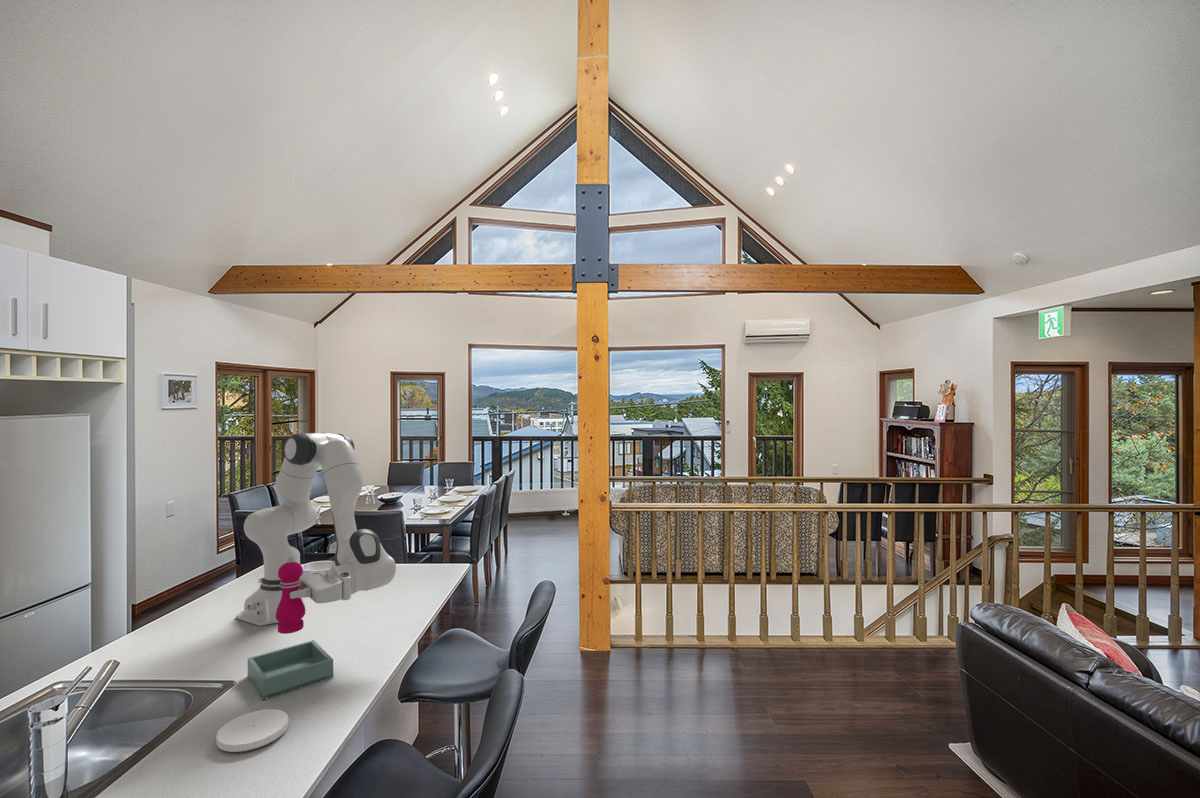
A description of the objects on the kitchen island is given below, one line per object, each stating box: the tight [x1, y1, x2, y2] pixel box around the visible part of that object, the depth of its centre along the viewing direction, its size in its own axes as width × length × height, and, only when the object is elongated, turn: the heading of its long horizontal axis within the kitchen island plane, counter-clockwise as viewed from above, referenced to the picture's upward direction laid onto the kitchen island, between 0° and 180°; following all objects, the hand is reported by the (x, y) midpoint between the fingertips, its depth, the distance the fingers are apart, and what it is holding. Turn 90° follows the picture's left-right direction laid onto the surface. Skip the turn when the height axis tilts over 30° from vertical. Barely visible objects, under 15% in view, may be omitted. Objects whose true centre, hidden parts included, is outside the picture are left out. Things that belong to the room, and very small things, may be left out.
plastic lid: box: [215, 708, 290, 753], centre depth 129 cm, size 14×14×2 cm
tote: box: [247, 639, 334, 700], centre depth 156 cm, size 17×17×5 cm
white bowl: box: [301, 560, 336, 573], centre depth 233 cm, size 15×15×8 cm
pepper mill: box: [276, 557, 306, 635], centre depth 156 cm, size 7×7×20 cm
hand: (286, 592), depth 155 cm, fingers closed on pepper mill, 4 cm apart
